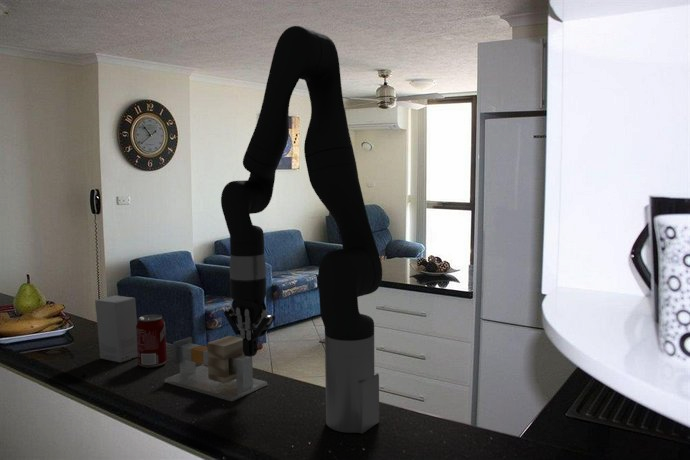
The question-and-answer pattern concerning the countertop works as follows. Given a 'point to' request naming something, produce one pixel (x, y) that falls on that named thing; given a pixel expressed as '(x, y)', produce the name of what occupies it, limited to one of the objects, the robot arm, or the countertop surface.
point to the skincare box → (117, 328)
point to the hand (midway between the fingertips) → (250, 355)
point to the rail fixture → (198, 376)
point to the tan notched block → (223, 357)
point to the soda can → (151, 341)
